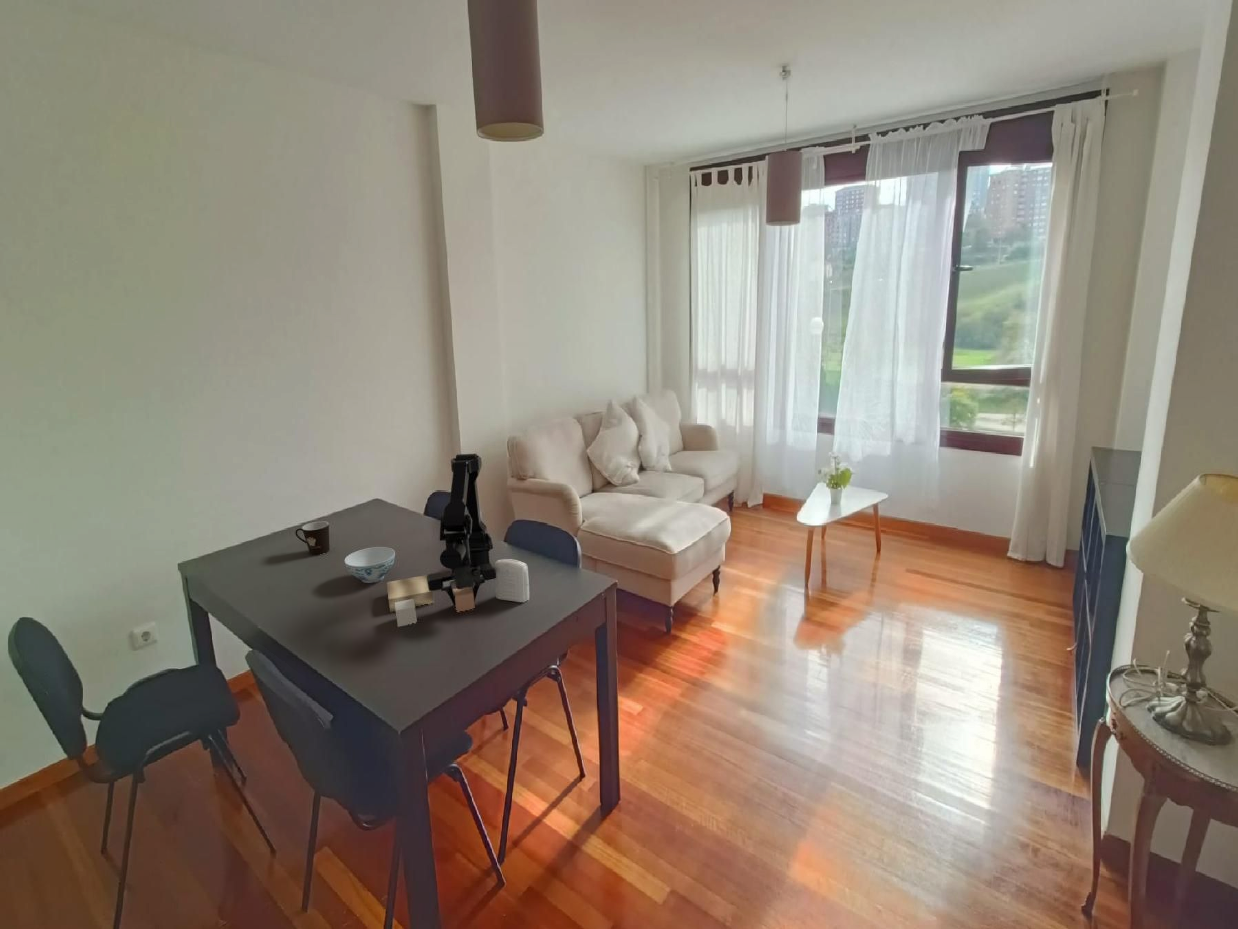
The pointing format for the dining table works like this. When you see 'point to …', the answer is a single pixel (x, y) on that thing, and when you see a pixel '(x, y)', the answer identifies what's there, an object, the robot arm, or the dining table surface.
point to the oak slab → (409, 591)
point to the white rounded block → (511, 580)
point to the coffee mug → (316, 537)
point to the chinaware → (370, 563)
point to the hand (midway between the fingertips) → (464, 603)
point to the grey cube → (405, 612)
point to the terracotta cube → (464, 599)
